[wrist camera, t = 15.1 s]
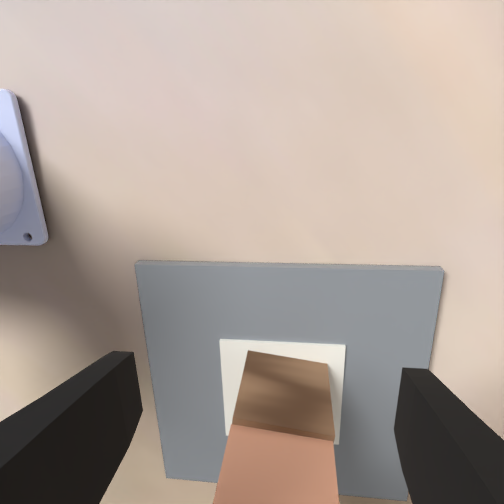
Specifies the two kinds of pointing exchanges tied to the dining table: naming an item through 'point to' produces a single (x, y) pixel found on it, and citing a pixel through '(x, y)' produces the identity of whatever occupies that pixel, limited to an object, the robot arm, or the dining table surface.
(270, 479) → the terracotta block
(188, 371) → the board
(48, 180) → the dining table surface
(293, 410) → the walnut block
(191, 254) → the dining table surface
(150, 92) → the dining table surface
